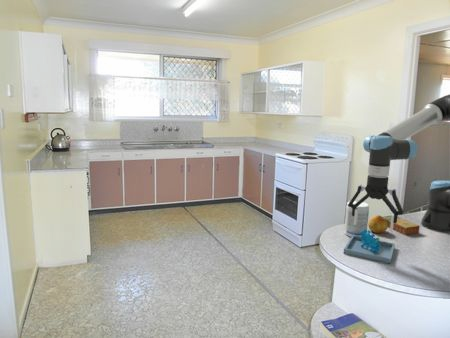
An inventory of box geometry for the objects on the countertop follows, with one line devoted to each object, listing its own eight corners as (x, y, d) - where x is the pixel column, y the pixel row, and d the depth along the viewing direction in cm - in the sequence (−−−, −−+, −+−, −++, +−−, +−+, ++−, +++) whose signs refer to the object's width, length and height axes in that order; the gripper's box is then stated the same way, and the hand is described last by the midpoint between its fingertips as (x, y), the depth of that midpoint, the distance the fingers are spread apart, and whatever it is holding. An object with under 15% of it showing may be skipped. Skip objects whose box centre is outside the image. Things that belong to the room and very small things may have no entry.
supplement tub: (370, 238, 158) (374, 206, 155) (351, 239, 156) (354, 207, 153) (358, 230, 167) (361, 200, 164) (339, 231, 165) (342, 201, 162)
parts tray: (394, 248, 148) (395, 243, 147) (389, 264, 133) (390, 259, 133) (352, 239, 156) (352, 235, 156) (343, 253, 142) (343, 248, 141)
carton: (405, 236, 162) (406, 227, 161) (379, 224, 177) (380, 216, 176) (418, 234, 165) (420, 225, 164) (392, 222, 180) (393, 214, 179)
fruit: (384, 232, 159) (386, 215, 161) (365, 229, 163) (367, 213, 166) (387, 236, 165) (389, 219, 168) (368, 233, 170) (370, 217, 172)
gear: (371, 252, 138) (358, 229, 143) (359, 258, 142) (348, 235, 147) (387, 250, 144) (374, 227, 149) (375, 256, 148) (364, 234, 153)
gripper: (343, 173, 141) (339, 224, 146) (413, 181, 129) (406, 236, 134) (347, 170, 148) (343, 218, 152) (414, 177, 135) (408, 230, 140)
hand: (372, 227), depth 143 cm, fingers open, 13 cm apart
